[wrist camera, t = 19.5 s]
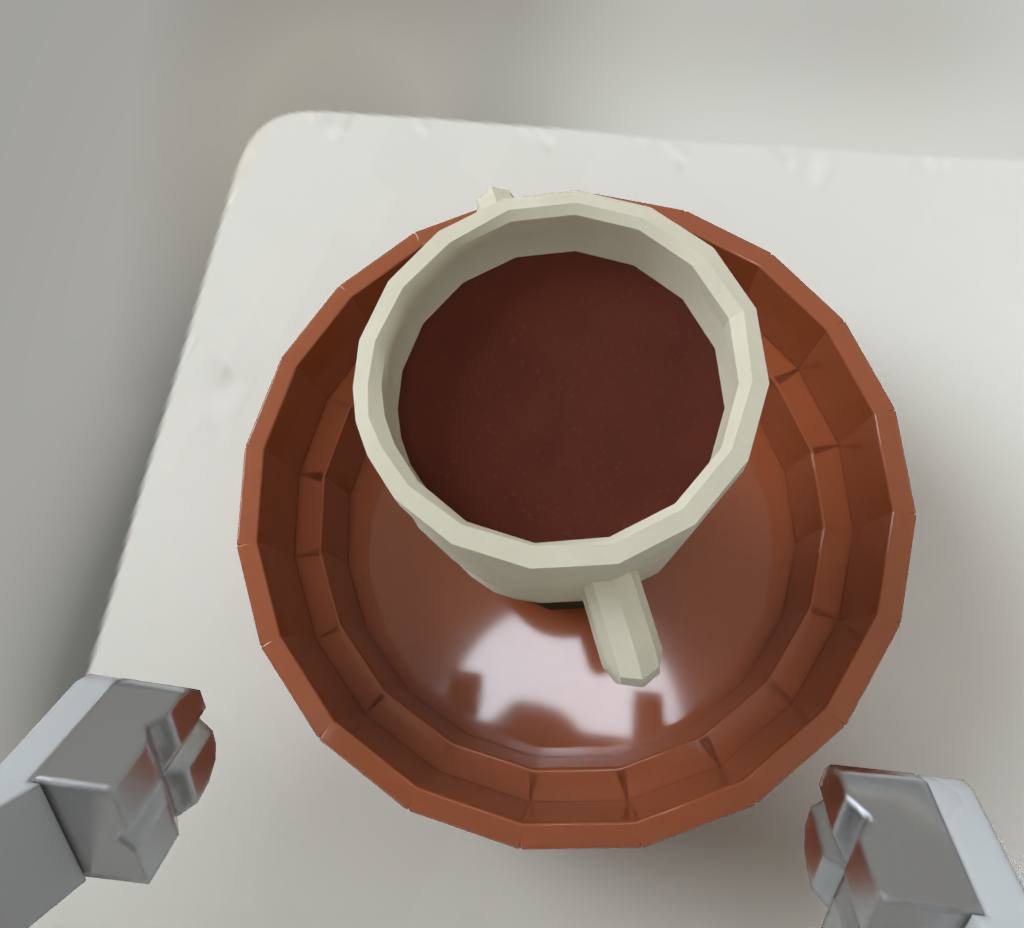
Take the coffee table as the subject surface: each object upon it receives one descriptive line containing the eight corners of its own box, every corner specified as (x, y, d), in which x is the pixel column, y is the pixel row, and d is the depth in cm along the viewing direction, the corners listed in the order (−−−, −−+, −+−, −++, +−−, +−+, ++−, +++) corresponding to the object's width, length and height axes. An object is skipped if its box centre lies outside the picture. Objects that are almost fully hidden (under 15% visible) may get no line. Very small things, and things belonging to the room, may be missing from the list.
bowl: (240, 704, 24) (134, 716, 18) (407, 254, 28) (364, 149, 23) (777, 885, 21) (852, 966, 15) (869, 351, 26) (953, 259, 20)
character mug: (432, 407, 26) (299, 165, 13) (617, 355, 26) (656, 63, 13) (507, 708, 23) (422, 757, 10) (718, 649, 23) (893, 626, 10)
